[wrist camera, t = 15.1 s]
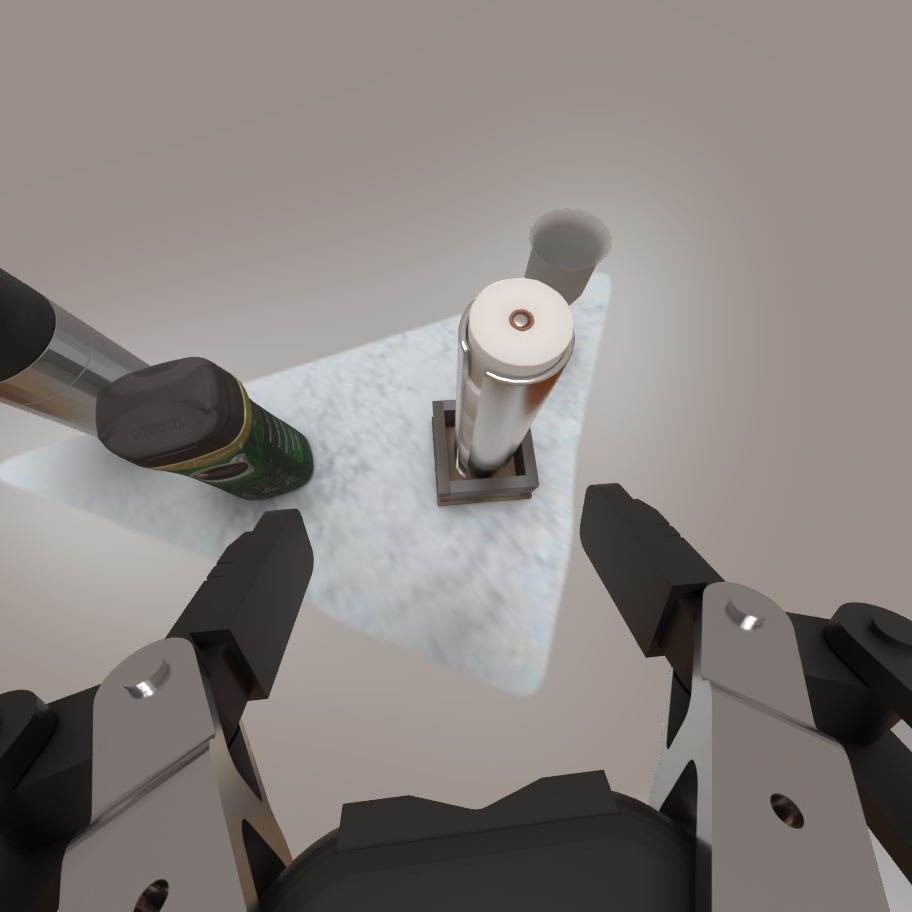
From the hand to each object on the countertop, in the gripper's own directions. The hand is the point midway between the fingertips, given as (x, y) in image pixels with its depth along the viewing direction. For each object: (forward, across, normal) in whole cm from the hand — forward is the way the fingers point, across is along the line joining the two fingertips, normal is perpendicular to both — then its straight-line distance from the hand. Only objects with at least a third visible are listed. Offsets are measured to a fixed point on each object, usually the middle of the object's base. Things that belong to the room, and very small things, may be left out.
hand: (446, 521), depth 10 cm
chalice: (+40, -13, +5) cm, 42 cm away
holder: (+30, -5, +15) cm, 34 cm away
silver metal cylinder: (+29, -5, +14) cm, 33 cm away
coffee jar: (+31, +20, +14) cm, 40 cm away
